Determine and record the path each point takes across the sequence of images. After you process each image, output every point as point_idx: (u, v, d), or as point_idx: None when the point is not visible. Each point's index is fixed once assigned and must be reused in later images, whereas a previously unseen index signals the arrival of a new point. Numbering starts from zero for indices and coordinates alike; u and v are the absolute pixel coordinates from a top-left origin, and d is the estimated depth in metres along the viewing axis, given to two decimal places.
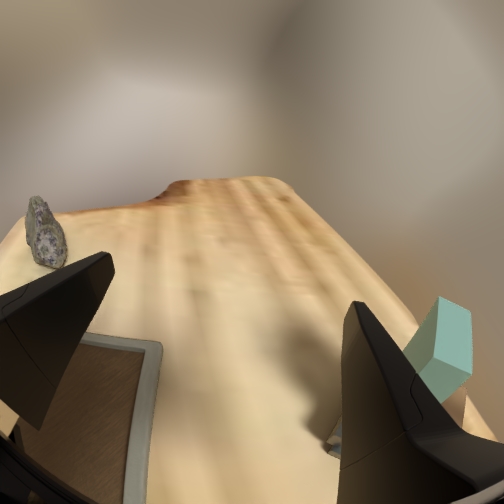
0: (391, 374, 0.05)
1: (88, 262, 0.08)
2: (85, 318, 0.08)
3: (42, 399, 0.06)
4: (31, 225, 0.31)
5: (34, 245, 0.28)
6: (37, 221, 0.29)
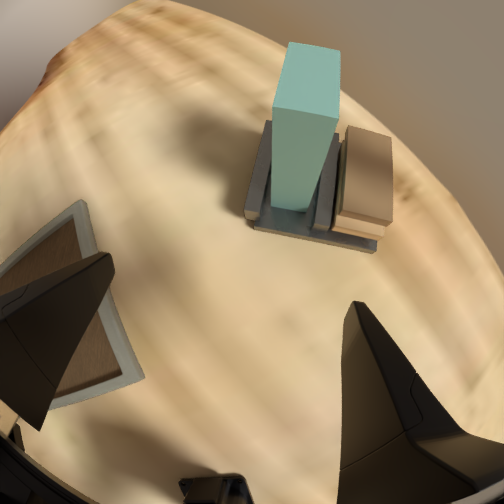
0: (391, 374, 0.05)
1: (88, 262, 0.08)
2: (85, 318, 0.08)
3: (42, 399, 0.06)
4: None
5: None
6: None
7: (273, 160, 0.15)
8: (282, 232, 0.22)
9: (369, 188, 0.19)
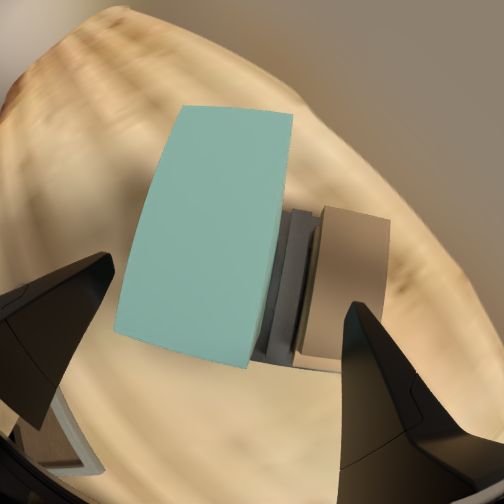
0: (391, 374, 0.05)
1: (88, 262, 0.08)
2: (85, 318, 0.08)
3: (42, 399, 0.06)
4: None
5: None
6: None
7: None
8: None
9: None
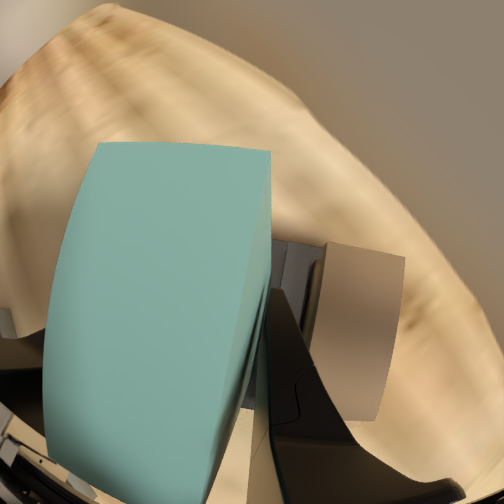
0: (278, 362, 0.06)
1: None
2: None
3: None
4: None
5: None
6: None
7: None
8: None
9: (347, 375, 0.11)
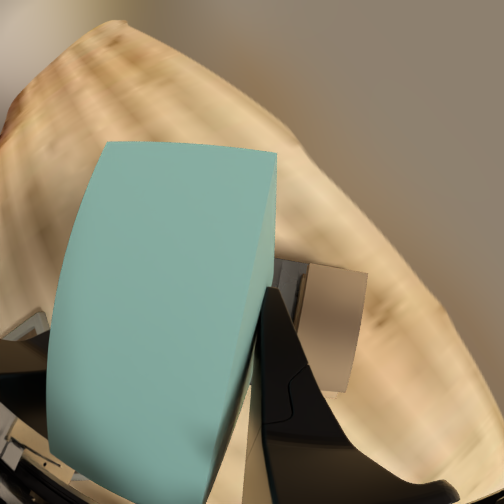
0: (271, 361, 0.06)
1: None
2: None
3: None
4: None
5: None
6: None
7: None
8: None
9: (323, 357, 0.16)
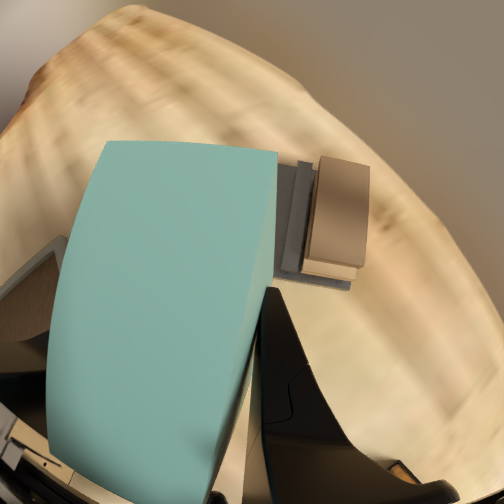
0: (271, 361, 0.06)
1: None
2: None
3: None
4: None
5: None
6: None
7: None
8: None
9: (340, 229, 0.18)
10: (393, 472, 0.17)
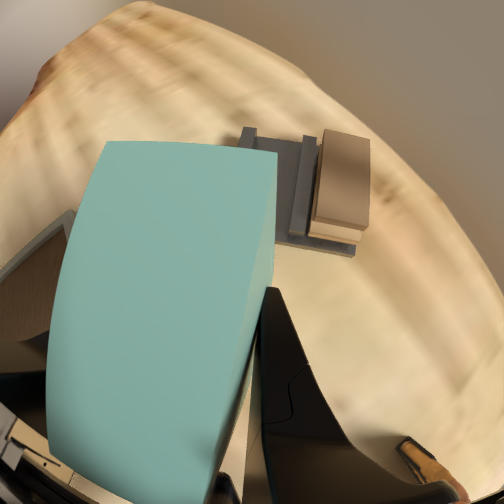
0: (271, 361, 0.06)
1: None
2: None
3: None
4: None
5: None
6: None
7: None
8: None
9: (344, 193, 0.19)
10: (404, 448, 0.17)
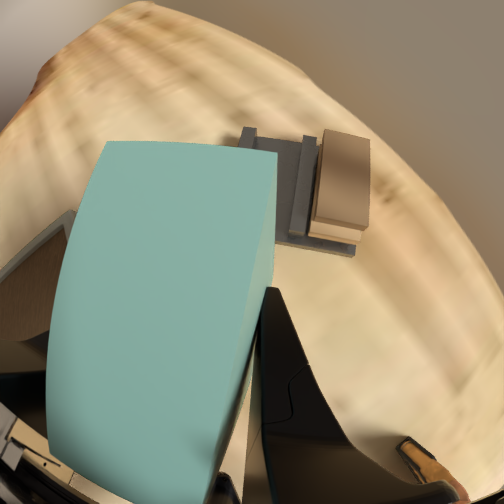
0: (271, 361, 0.06)
1: None
2: None
3: None
4: None
5: None
6: None
7: None
8: None
9: (344, 193, 0.19)
10: (404, 448, 0.17)
